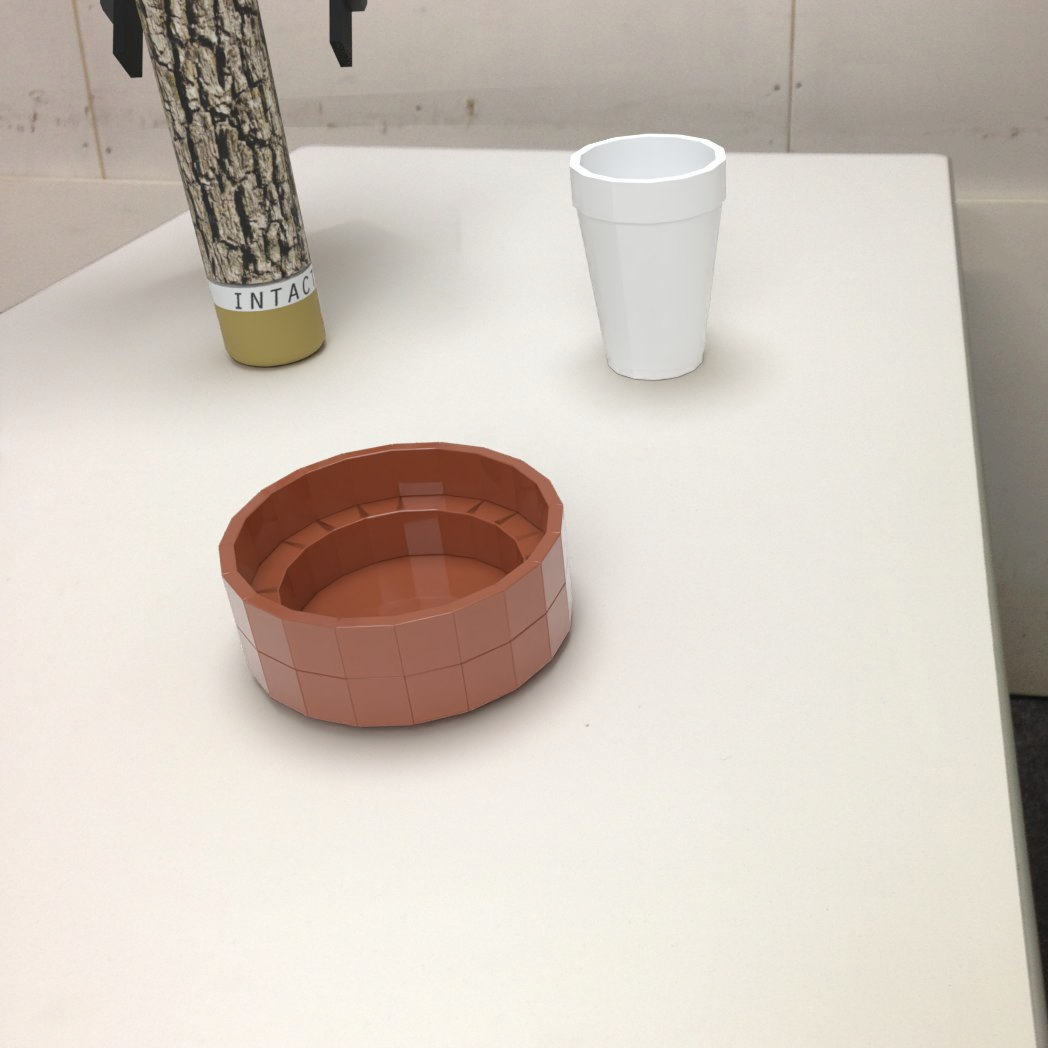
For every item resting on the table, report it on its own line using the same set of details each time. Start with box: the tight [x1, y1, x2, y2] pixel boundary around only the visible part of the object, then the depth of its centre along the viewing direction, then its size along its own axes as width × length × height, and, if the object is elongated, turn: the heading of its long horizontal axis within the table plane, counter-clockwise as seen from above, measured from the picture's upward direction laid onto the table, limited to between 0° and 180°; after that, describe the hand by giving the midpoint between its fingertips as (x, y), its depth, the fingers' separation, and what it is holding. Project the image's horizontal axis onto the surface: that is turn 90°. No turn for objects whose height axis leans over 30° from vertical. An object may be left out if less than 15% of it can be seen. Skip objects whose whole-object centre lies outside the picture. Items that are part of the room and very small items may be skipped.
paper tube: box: [135, 0, 326, 367], centre depth 81 cm, size 7×7×25 cm
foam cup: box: [569, 133, 727, 381], centre depth 80 cm, size 10×9×13 cm
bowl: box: [217, 441, 573, 728], centre depth 60 cm, size 15×15×6 cm
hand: (234, 61), depth 81 cm, fingers open, 13 cm apart
